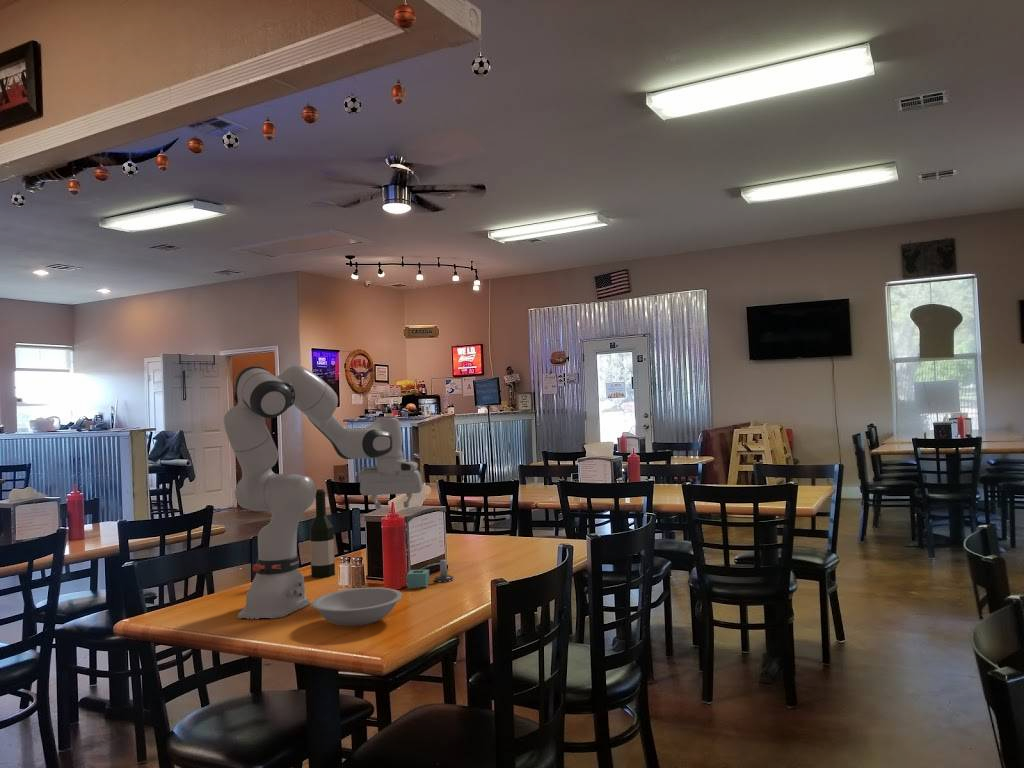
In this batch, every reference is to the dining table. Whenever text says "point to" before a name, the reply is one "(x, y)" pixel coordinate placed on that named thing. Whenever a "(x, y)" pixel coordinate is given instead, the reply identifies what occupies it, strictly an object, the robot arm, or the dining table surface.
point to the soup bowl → (357, 605)
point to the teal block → (418, 578)
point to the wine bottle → (321, 541)
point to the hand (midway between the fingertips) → (392, 507)
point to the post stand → (443, 572)
